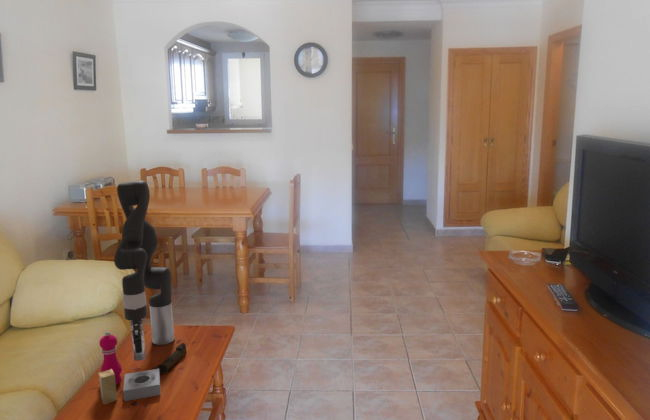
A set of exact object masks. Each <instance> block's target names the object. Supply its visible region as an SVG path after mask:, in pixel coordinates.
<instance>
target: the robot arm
mask: <svg viewBox="0 0 650 420" xmlns="http://www.w3.org/2000/svg"><path fill="white" fill-rule="evenodd" d="M116 192H117V197H118V201H119V204H120V206H121V209H122V211H123V214H124V216H125V219H126V220H125V221H124V222H123V226H122V233H121V240H120V243H119V246H118V248H117V250H116V252H115V254H114V258H113V264H114V266H115V267H116V269H118V270H121V271H122V270H123V271H125V270H135V269H136V271H135V272H133V273H131V274H126V275H125V276H123V278H122V281H121V283H122V293H123V295H122V296H123V297H122V302H123V303H122V304H123V313H124V319H126V320H127V321H130V329H131V338H132V337H133V340H134V342H133V343H134V344H135V352H136V353H141V352H142V338H141V336H142V335H143V331H144V320H143V319H144V318H146V317H147V316H148V306H149V316H150V328H151V340H152V344H154V345H157V346H163V345H164V346H165V345H168V344H170V343H172V342H173V341H174V340H175V329H174V327H175V326H174V315H173V303H172V297H173V296H172V295H173V294H172V290H173V289H172V272H171V270H170V268H169V267H153V265H152V262H151V261H152V258H153V256H154V254H155V252H156V250H157V247H158V243H159V242H158V238H157V234H156V230H155V228H154V227H153V225H152V224H151V223H150V222H148V220H147V219H146V217H147V212H148V209H149V208H148V207H149V204H150V195H151V194H150V188H149V185H148V183H147V182H146V181H145V180H134V181H125V182H121V183H119V184H117V188H116ZM134 206H136V207H134ZM145 288H146V289H148V290H149V289H150V290H160V292H159V293H157V294H154V295H151V296H150V297H149V299H148V304H147V294H146V291H145ZM142 330H143V331H142ZM140 332H141V333H140ZM136 339H139V340H136Z"/></svg>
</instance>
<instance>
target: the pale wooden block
mask: <svg viewBox="0 0 650 420" xmlns="http://www.w3.org/2000/svg"><path fill="white" fill-rule="evenodd" d="M98 380H99V388H100V389H99V390H100V397H101V398H100V399H101V401H102V404H103V405H107V404H111V403H114V402H117V401H118V393H117V384H116V382H115V374H114V372H113V370H112V369H110V370H106V371H103V372H101V371H100V372H99V371H98Z"/></svg>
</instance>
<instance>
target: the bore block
mask: <svg viewBox="0 0 650 420" xmlns="http://www.w3.org/2000/svg"><path fill="white" fill-rule="evenodd" d="M160 374H161V373H160V372H159V369H158V368H155V369H148V370H142V371H136V372H130V373H125V374H124V377H123V378H124V380H123V389H122V392H123V402H129V401H134V400H139V399H146V398H150V397H157V396H161V375H160Z"/></svg>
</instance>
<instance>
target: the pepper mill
mask: <svg viewBox="0 0 650 420" xmlns="http://www.w3.org/2000/svg"><path fill="white" fill-rule="evenodd" d="M117 344H118V339H117V337H116V335H113V334H111V332H110V331H106V332H105V333H104V335H103V336H102V337H100V339H99V346H100V348H101V354H102V355H103V362H102V365H101V368H100V372H103V371H106V370H110V369H112V370H113V372H114V374H115V382H116V385H118V384H120V383H121V382H122V375H121V373H122V370H123V368H122V365H121V363H120V361H119V360H118V358H117V354H116V353H117Z"/></svg>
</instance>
